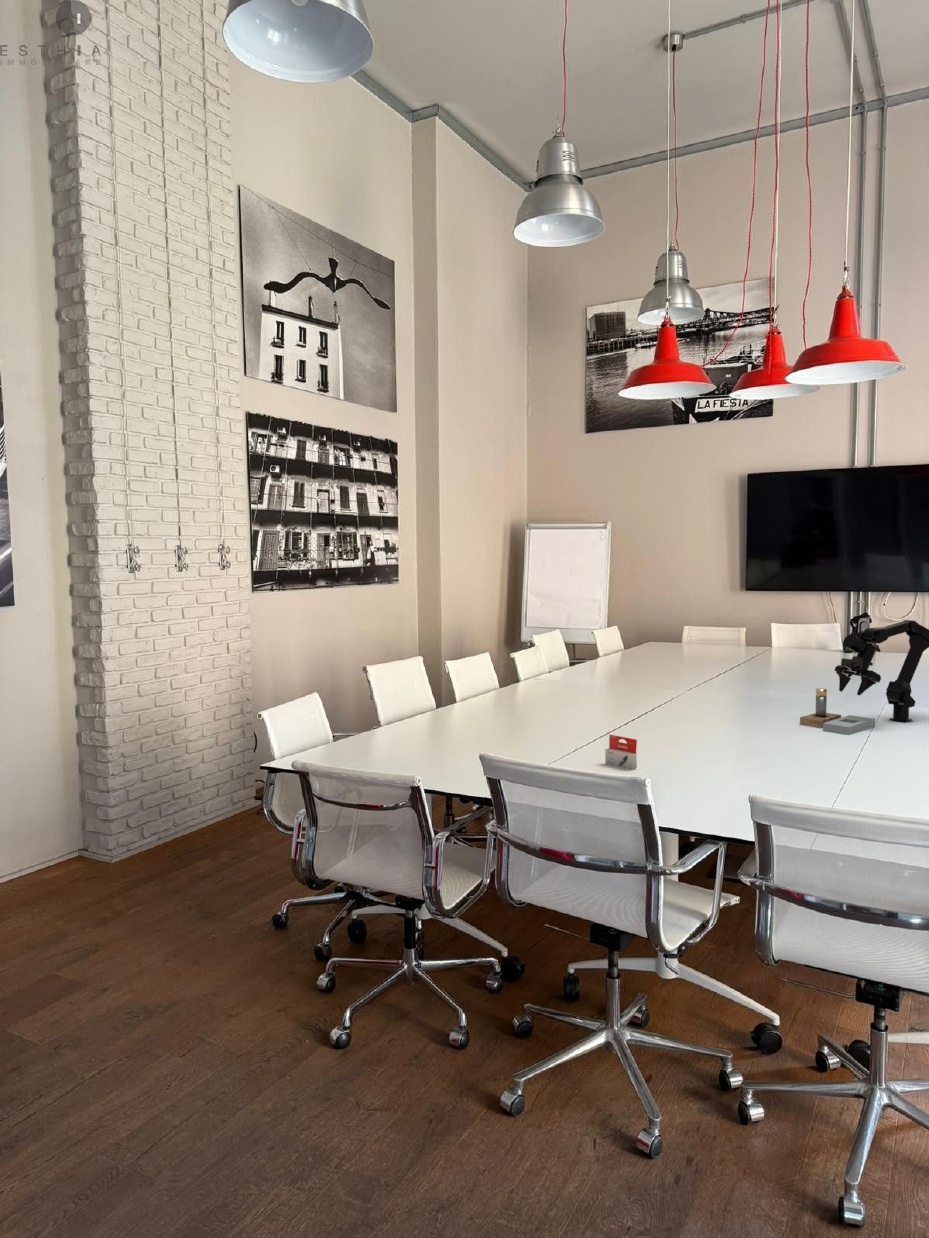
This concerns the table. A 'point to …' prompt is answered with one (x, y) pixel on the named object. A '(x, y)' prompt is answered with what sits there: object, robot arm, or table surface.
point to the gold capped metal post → (821, 702)
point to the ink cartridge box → (621, 752)
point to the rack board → (848, 724)
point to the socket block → (817, 719)
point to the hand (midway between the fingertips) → (849, 693)
